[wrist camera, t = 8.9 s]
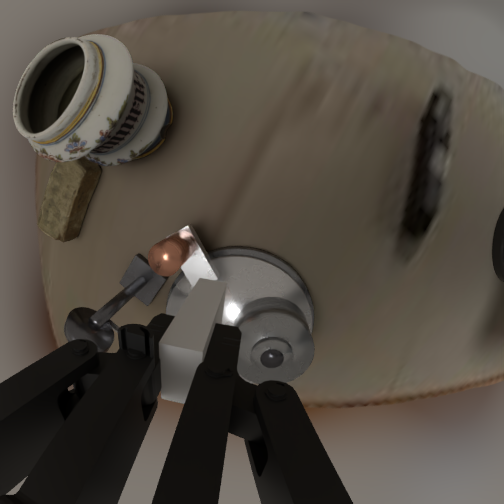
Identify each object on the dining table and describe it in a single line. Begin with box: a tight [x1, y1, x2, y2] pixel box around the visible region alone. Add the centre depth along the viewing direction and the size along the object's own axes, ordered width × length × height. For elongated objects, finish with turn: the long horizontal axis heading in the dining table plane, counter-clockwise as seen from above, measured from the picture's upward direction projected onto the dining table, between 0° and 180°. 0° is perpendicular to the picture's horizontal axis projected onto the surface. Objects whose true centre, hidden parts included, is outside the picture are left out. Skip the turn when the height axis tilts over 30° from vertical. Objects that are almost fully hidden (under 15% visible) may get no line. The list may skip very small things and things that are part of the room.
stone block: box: [38, 156, 101, 242], centre depth 30 cm, size 6×12×5 cm, turn 151°
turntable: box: [148, 224, 312, 383], centre depth 29 cm, size 18×22×9 cm
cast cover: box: [234, 297, 314, 384], centre depth 29 cm, size 9×9×6 cm
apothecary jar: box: [13, 34, 173, 166], centre depth 21 cm, size 12×12×18 cm
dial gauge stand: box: [64, 254, 168, 353], centre depth 27 cm, size 8×5×16 cm, turn 51°
